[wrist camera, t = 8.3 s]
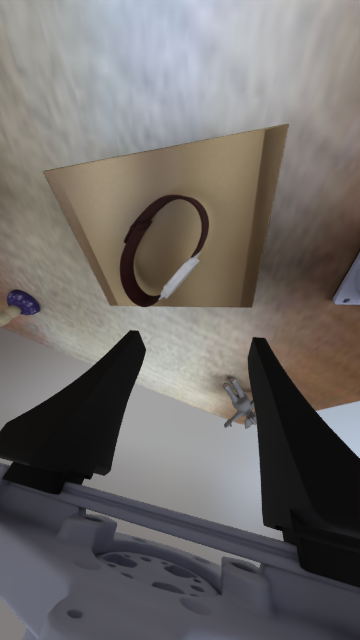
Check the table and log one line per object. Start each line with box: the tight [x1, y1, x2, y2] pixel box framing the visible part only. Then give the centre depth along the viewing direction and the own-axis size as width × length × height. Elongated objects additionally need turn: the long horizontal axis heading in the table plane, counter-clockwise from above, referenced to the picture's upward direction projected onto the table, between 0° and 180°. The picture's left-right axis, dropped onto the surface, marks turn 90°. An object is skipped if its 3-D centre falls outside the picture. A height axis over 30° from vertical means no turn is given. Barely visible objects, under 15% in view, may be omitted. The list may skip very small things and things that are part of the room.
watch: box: [120, 195, 209, 307], centre depth 11 cm, size 8×5×4 cm, turn 146°
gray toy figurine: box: [223, 377, 257, 428], centre depth 31 cm, size 10×6×9 cm
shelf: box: [43, 124, 289, 307], centre depth 14 cm, size 13×10×5 cm
